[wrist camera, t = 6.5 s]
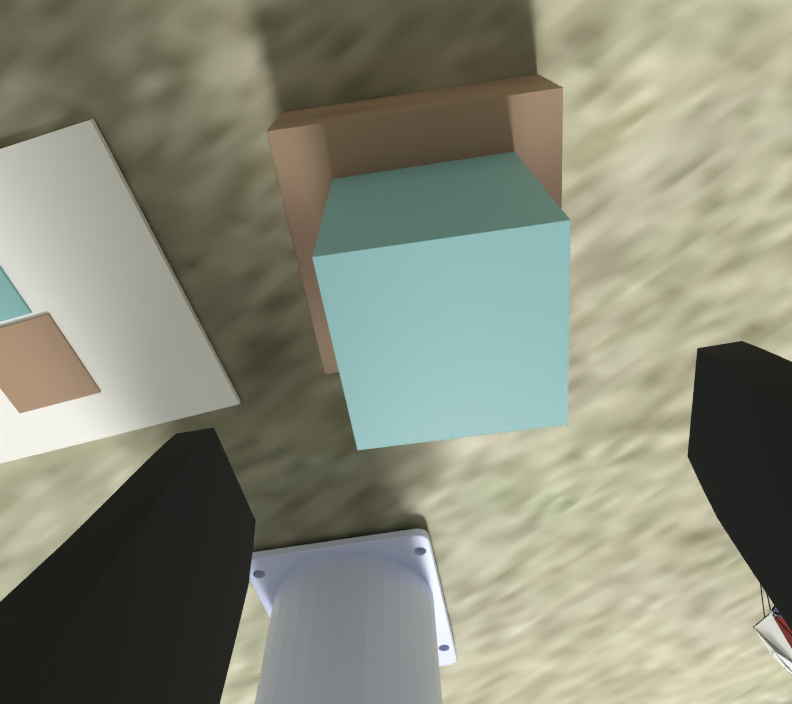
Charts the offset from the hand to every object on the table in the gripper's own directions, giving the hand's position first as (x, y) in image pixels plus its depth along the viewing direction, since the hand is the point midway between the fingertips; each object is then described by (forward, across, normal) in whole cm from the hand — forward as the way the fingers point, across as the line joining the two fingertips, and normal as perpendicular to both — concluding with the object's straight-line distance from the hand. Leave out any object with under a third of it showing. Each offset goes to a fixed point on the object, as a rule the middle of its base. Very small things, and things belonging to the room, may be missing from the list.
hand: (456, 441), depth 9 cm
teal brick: (+8, 0, 0) cm, 8 cm away
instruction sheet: (+10, +14, +1) cm, 17 cm away
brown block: (+11, 0, 0) cm, 11 cm away
